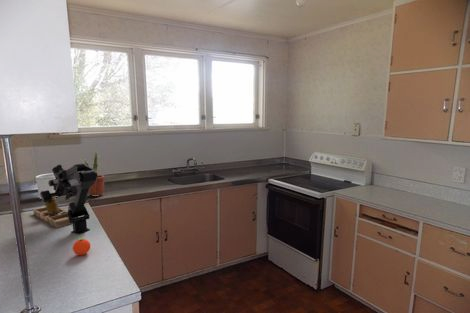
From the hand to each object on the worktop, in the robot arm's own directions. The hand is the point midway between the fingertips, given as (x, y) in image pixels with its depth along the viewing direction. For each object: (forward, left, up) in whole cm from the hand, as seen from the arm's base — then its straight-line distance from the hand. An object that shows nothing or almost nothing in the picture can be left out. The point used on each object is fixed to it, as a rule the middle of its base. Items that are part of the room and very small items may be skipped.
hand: (57, 201), depth 172 cm
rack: (+6, -2, -11) cm, 13 cm away
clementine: (-50, +28, -12) cm, 59 cm away
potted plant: (+23, -46, -12) cm, 53 cm away
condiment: (+6, -2, -9) cm, 11 cm away
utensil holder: (+54, -33, -12) cm, 64 cm away
